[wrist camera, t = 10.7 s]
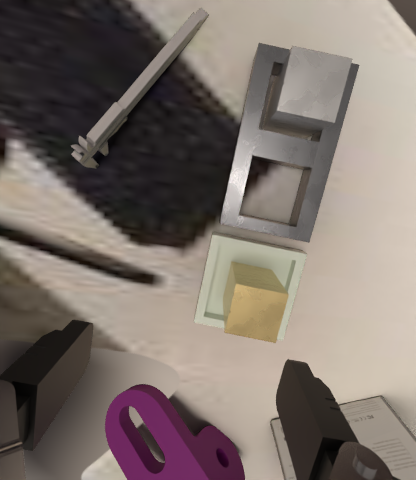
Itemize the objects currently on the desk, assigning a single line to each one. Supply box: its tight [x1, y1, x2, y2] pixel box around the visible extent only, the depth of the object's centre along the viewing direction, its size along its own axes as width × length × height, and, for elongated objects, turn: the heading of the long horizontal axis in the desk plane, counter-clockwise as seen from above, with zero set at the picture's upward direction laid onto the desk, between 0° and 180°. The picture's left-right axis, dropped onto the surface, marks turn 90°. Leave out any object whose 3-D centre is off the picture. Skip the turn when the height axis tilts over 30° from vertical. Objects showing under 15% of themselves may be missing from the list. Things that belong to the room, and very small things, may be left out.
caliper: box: [71, 8, 209, 168], centre depth 28 cm, size 20×1×6 cm, turn 140°
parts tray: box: [194, 232, 307, 341], centre depth 34 cm, size 11×11×2 cm
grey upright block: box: [262, 46, 352, 139], centre depth 27 cm, size 5×5×8 cm
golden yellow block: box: [223, 261, 289, 343], centre depth 30 cm, size 5×5×8 cm
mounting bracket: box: [105, 384, 245, 480], centre depth 38 cm, size 9×8×18 cm
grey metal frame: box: [219, 43, 359, 242], centre depth 30 cm, size 18×10×3 cm, turn 168°
